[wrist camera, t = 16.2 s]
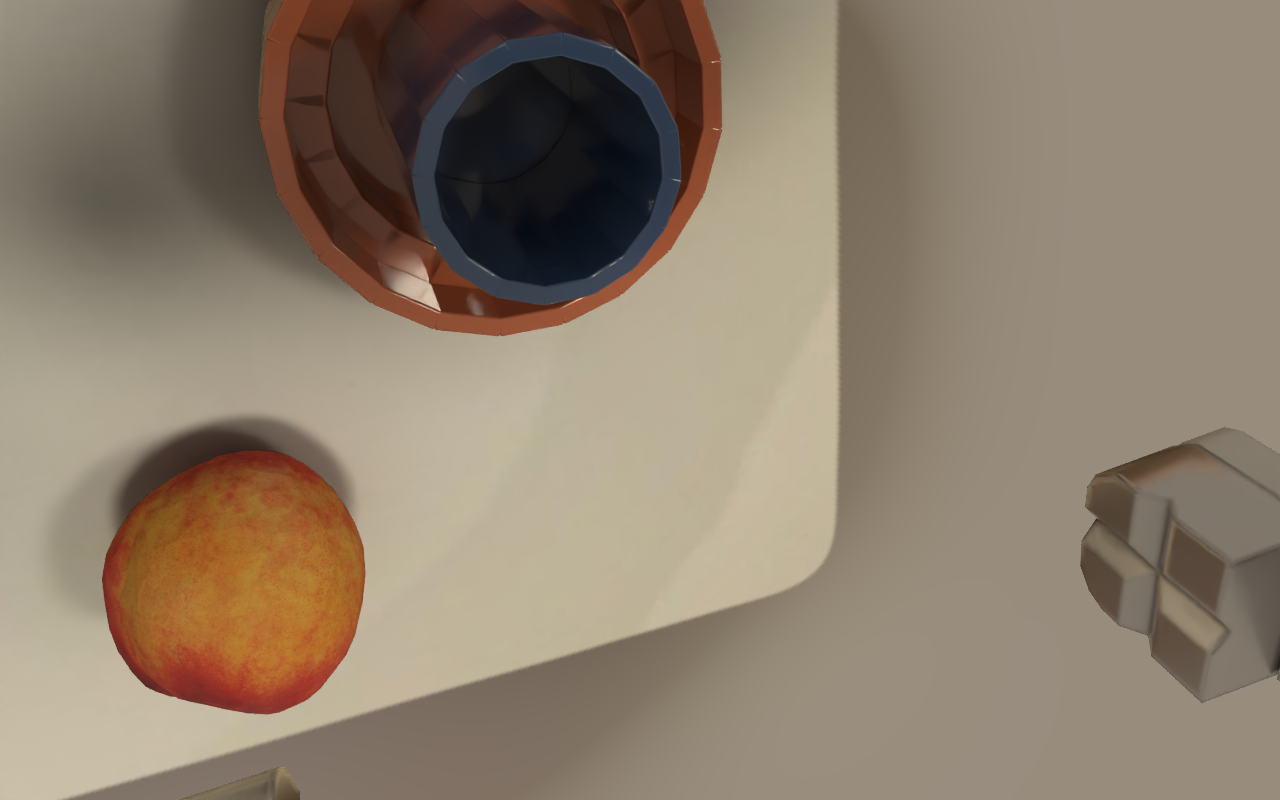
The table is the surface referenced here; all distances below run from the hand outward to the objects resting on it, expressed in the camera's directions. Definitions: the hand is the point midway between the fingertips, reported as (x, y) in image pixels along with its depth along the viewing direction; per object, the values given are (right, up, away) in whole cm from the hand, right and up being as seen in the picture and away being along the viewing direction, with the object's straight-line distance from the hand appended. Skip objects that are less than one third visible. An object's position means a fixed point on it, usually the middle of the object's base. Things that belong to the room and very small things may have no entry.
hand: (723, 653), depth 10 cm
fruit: (-15, -1, +26) cm, 30 cm away
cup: (-6, +12, +21) cm, 24 cm away
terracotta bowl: (-6, +12, +21) cm, 25 cm away
